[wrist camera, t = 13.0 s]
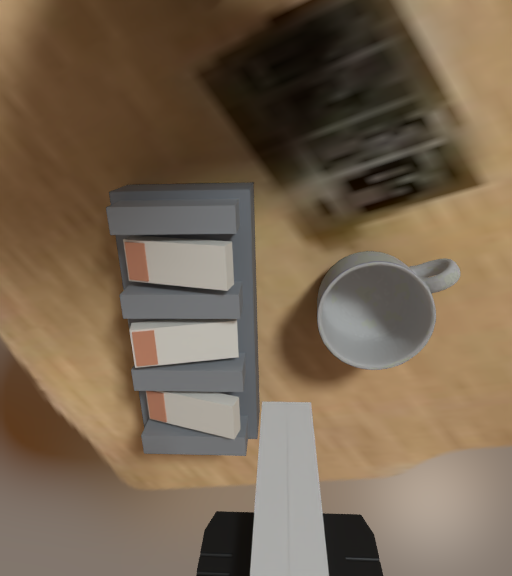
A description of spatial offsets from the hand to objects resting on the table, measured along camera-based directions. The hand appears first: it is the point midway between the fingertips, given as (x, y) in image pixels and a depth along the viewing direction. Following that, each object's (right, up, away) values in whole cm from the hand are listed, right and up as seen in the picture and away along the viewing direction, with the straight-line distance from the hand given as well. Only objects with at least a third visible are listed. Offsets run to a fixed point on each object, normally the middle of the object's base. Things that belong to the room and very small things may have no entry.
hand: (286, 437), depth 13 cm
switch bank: (-7, +2, +34) cm, 35 cm away
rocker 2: (-8, 0, +27) cm, 28 cm away
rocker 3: (-8, -8, +30) cm, 32 cm away
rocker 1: (-8, +7, +24) cm, 27 cm away
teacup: (+12, +5, +32) cm, 35 cm away
